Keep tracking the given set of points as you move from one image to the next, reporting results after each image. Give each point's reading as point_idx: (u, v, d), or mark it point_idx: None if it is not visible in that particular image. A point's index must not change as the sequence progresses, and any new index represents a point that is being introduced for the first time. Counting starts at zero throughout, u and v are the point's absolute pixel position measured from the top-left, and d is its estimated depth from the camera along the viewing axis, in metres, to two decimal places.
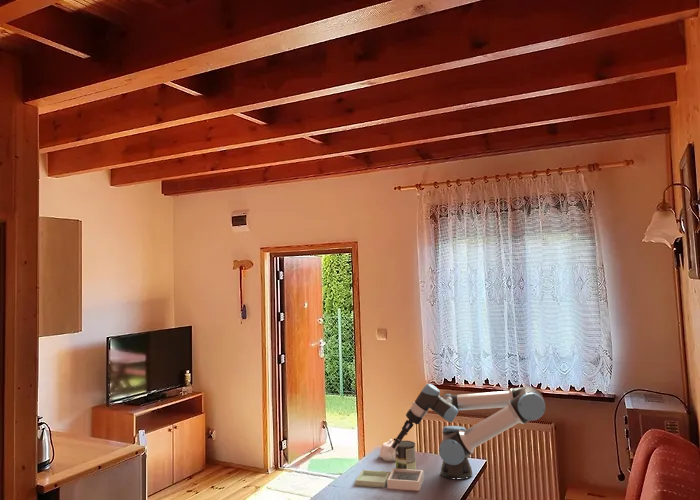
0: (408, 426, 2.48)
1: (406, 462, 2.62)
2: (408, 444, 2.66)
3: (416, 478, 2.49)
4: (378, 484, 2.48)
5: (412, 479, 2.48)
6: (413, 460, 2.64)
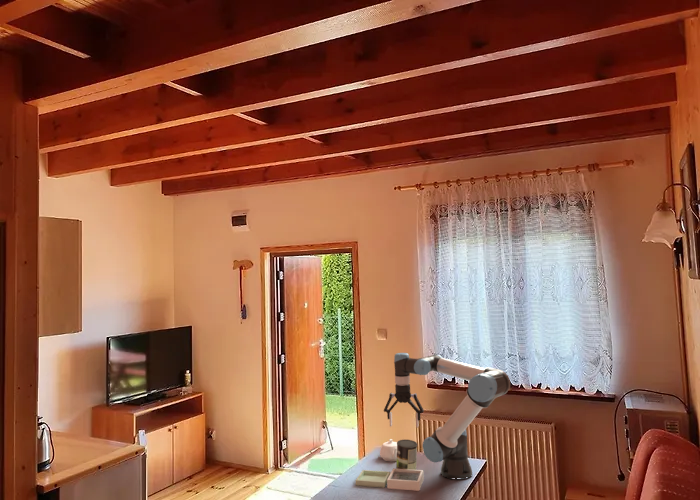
0: None
1: (407, 462, 2.61)
2: (410, 444, 2.65)
3: (416, 478, 2.49)
4: (378, 484, 2.48)
5: (412, 479, 2.48)
6: (414, 460, 2.63)
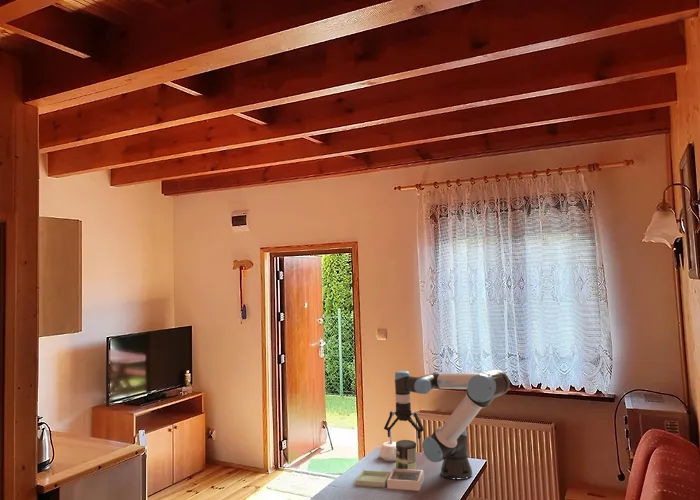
0: (390, 412, 2.70)
1: (407, 462, 2.61)
2: (409, 444, 2.66)
3: (416, 478, 2.49)
4: (378, 484, 2.48)
5: (412, 479, 2.48)
6: (414, 460, 2.63)
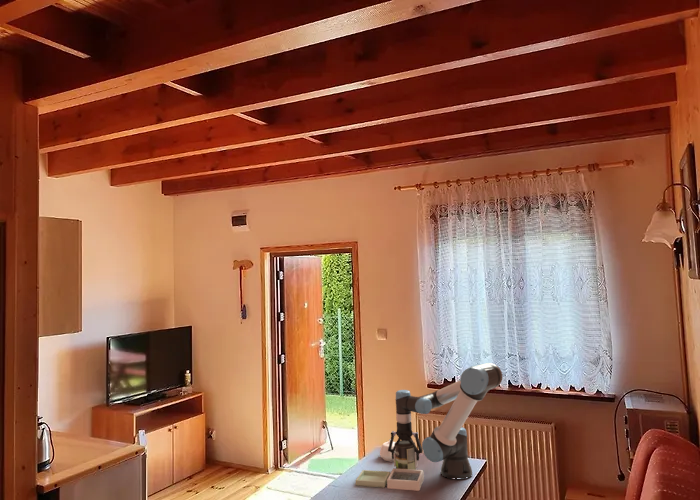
0: (391, 433, 2.69)
1: (407, 462, 2.62)
2: (408, 444, 2.66)
3: (416, 478, 2.49)
4: (378, 484, 2.48)
5: (412, 479, 2.48)
6: (413, 459, 2.64)
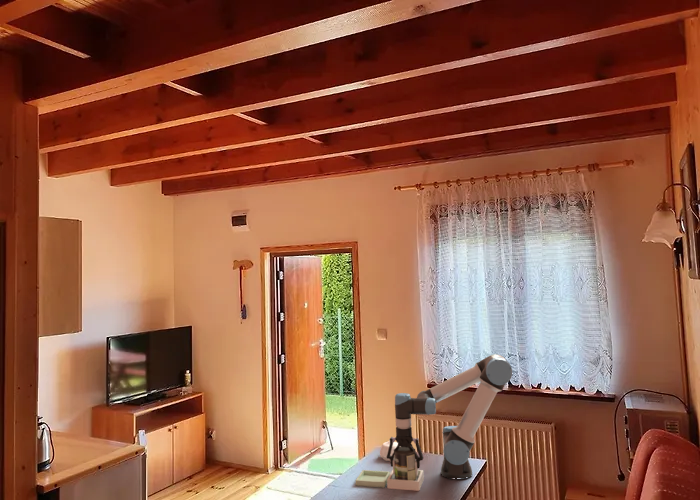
0: (390, 439, 2.54)
1: (407, 470, 2.47)
2: (408, 450, 2.51)
3: None
4: (378, 484, 2.48)
5: None
6: (414, 467, 2.49)
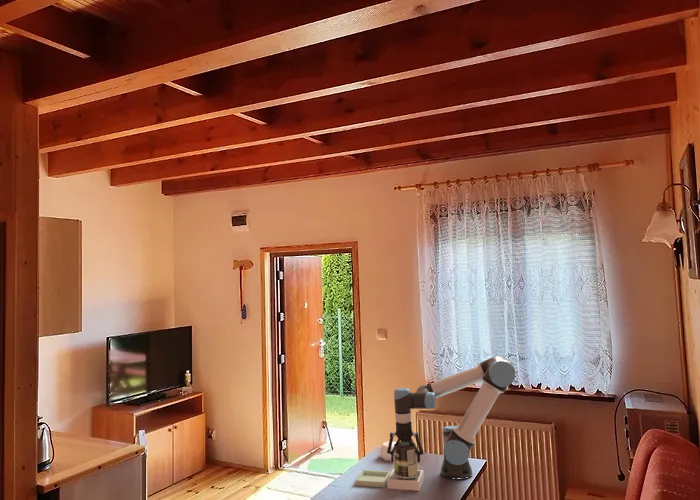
0: None
1: (407, 465, 2.47)
2: (408, 445, 2.51)
3: (416, 478, 2.49)
4: (378, 484, 2.48)
5: (412, 479, 2.48)
6: (414, 461, 2.49)
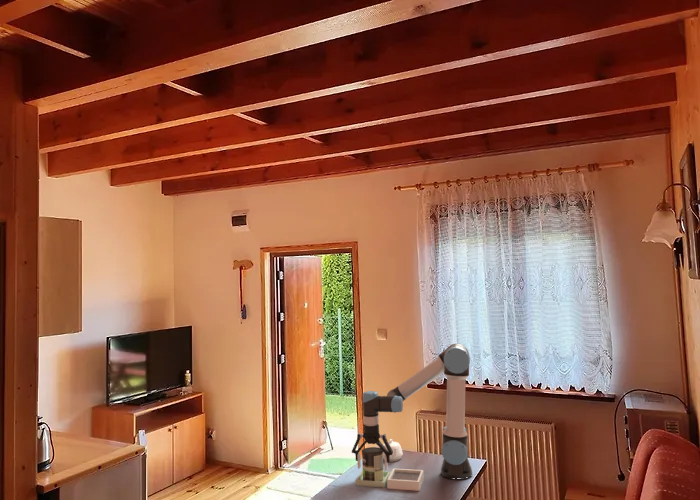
0: (357, 435, 2.58)
1: (374, 470, 2.51)
2: (376, 451, 2.55)
3: (416, 478, 2.49)
4: (378, 484, 2.48)
5: (412, 479, 2.48)
6: (381, 467, 2.53)
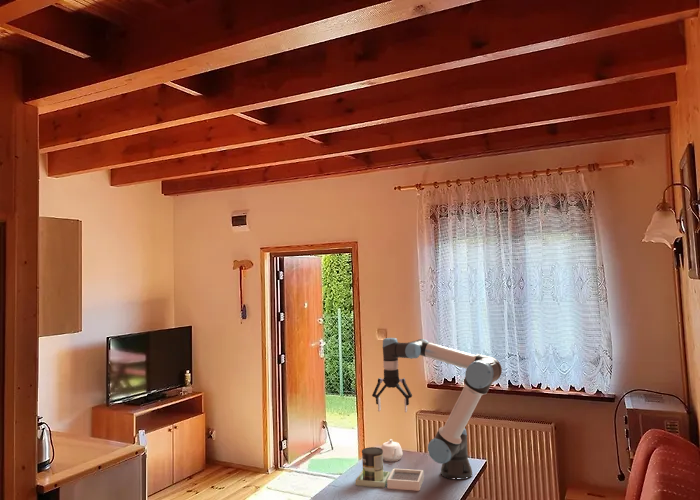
0: (378, 379, 2.69)
1: (374, 470, 2.51)
2: (376, 451, 2.55)
3: (416, 478, 2.49)
4: (378, 484, 2.48)
5: (412, 479, 2.48)
6: (381, 467, 2.53)
